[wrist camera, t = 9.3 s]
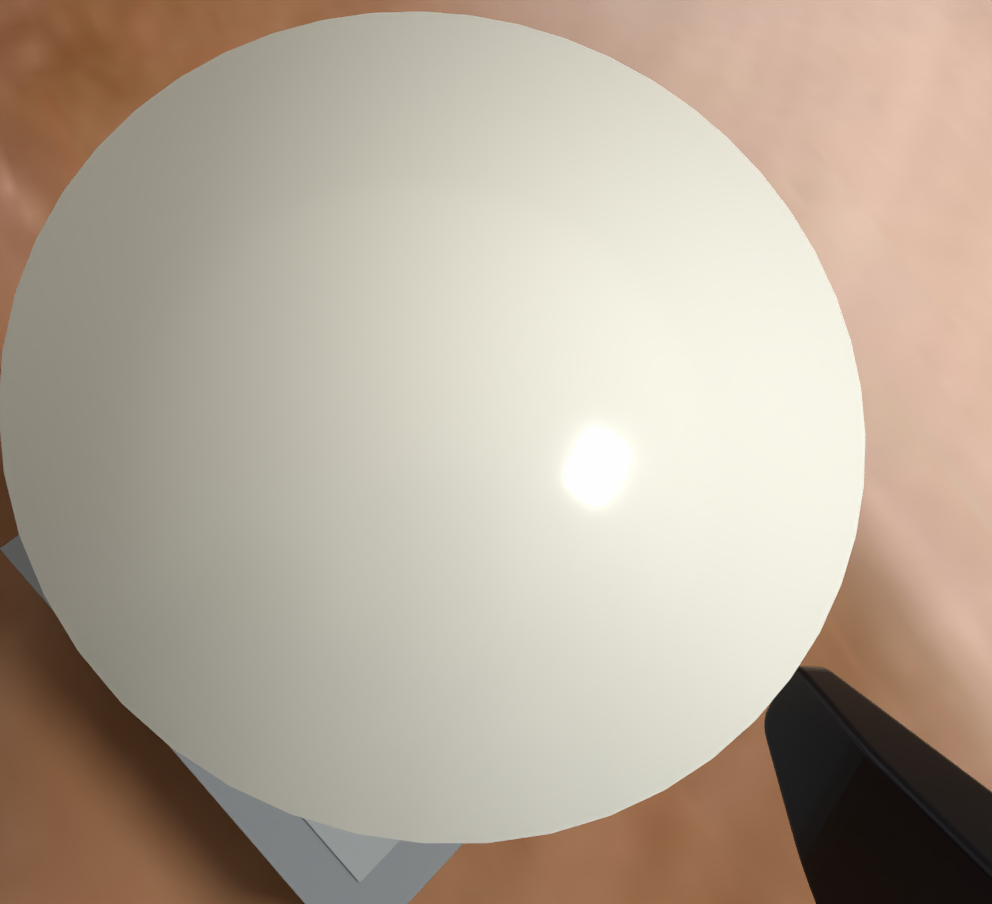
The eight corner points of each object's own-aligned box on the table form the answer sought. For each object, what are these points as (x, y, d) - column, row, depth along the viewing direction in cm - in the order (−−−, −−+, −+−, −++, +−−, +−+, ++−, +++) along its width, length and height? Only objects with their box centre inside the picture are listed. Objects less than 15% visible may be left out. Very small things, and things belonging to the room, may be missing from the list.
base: (353, 918, 17) (354, 962, 15) (44, 562, 18) (-2, 548, 16) (662, 589, 21) (704, 581, 18) (394, 297, 21) (400, 253, 19)
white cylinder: (423, 743, 16) (677, 1047, 4) (205, 621, 16) (-260, 528, 4) (535, 531, 18) (966, 267, 6) (340, 416, 18) (331, -125, 5)
